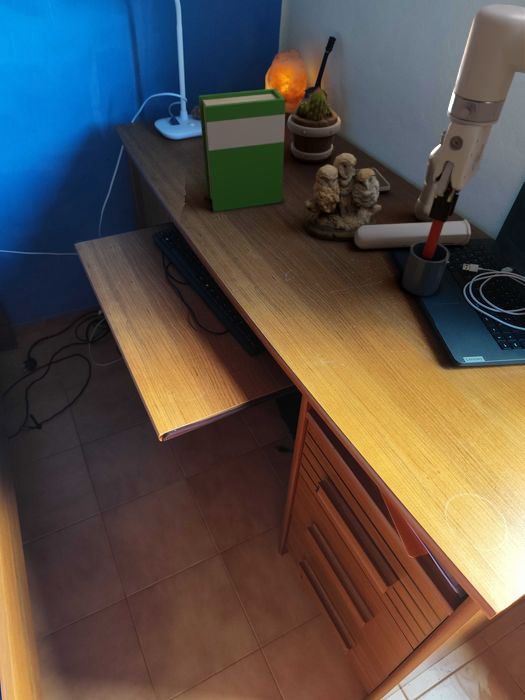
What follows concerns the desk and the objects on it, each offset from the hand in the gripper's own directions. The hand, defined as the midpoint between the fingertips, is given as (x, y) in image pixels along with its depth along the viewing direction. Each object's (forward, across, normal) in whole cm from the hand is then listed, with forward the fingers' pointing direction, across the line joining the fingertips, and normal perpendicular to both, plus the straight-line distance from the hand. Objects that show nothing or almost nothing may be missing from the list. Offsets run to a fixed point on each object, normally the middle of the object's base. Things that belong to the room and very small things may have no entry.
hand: (440, 215), depth 83 cm
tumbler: (+16, 0, 0) cm, 16 cm away
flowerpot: (+16, +38, +50) cm, 65 cm away
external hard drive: (+16, +32, +28) cm, 45 cm away
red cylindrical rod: (+9, 0, 0) cm, 9 cm away
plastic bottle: (+16, +25, +9) cm, 31 cm away
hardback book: (+16, +6, +50) cm, 53 cm away
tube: (+16, +12, +8) cm, 21 cm away
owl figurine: (+16, +9, +24) cm, 30 cm away
